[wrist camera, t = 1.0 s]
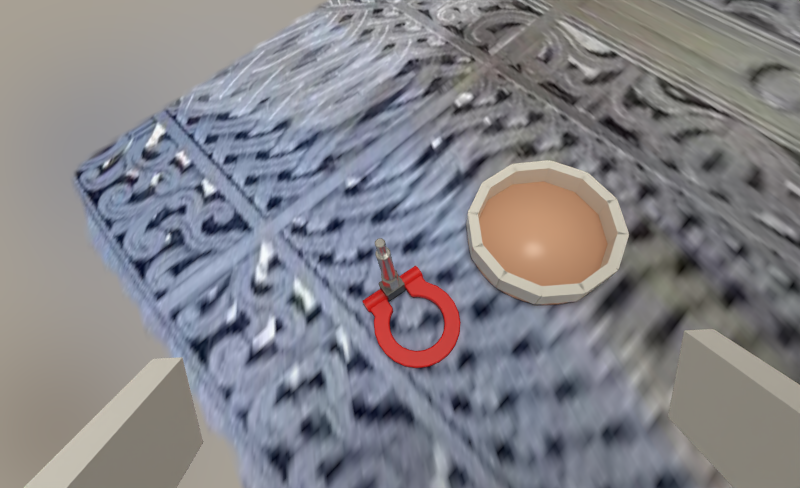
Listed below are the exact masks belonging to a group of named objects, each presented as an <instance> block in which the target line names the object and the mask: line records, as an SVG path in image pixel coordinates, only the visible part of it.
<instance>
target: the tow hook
mask: <svg viewBox="0 0 800 488" xmlns="http://www.w3.org/2000/svg"><path fill="white" fill-rule="evenodd" d="M375 246H376V249H377V250H376V258H377V261H378V264H379V267H380V270H381V276H382V281H381V282H379V286H380V290H378V291H377V292H375V293H374V294H372V295H371V296H369V297H368V298H366V299H365V300H363V304H364V306H365V307H366V309H367V310H368V311H369V312H372V313H373V315H374V316H375V319H374V328H375V335H376V338H377V340H378V343H379V345H380V347H381V348H382V349H383V351H384V352H385V354H386V355H387V356H389V357H390V358H391V359H392V360H393V361H395V362H397V363H399V364H401V365H403V366H406V367H413V368H422V367H429V366H431V365H434V364H436V363H438V362H440V361H441V360H443V359H444V358H445V357H446V356H448V355H449V353H450V352H451V350H452V349H453V348H454V346H455V344H456V342H457V339H458V336H459V332H460V318H459V312H458V310H457V308H456V305H455V303H454V301H453V300H452V299H451V298H450V296H449V295H448V294H447V293H446V292H445V291H443V290H442V289H441V288H439V287H438V286H435V285H433V284H430V283H428V282H426V281H425V280H424V279H423V275H422V273H421V271H420V270H419V269H418V267H416V266H414V267H413V268H411V269H410V270H408V271H407V272H405V273H404V274H402V275H401V276H399V275H398V274H397V271H396V270H394V266H393V262H392V257H391V253H390V250H389V249H388V248H387V247H386V244H385V241H384V240H383V239H381V238H379V239H377V240H376V241H375ZM405 289H406V290H407V291H408V293H409V294H410V295H411V296H412V297H421V298H426V299H428V300H430V301H432V302H433V303H435V304H436V305H437V306H438V308H439V309H440V310H441V312H442V314H443V317H444V323H445V325H444V332H443V334H442V337H441V338H440V339H439V341H438V342H437V343H436V344H435V345H434V346H432V347H431V348H428V349H426V350H422V351H412V350H408V349H406V348H403V347H402V346H401V345H399V344H398V343H397V342H396V341H395V339H394V338H393V336H392V334H391V331H390V318H391V315H392V313H393V308H392V306H391V305H390V304H389V302H388V301H390V300H391V299H393V298H394V297H396V296H397V295H399V294H400V293H402V292H403V291H405Z"/></svg>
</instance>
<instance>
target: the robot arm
mask: <svg viewBox="0 0 800 488" xmlns="http://www.w3.org/2000/svg"><path fill="white" fill-rule="evenodd" d="M668 418H669V419H670V420H671V421H672V422H673V423H674V424H675V425H676V426H677V427H678V428H679V430H680V431H681V432H682V433H683V434H684V435H685V436H686V437H687V438H688V439H689V440H690V441H691V442H692V443H693V445H694V446H695V447H696V448H697V449H698V450H699V451H700V452H701V453H702V454H703V455H704V456H705V457H706V458H707V460H708V461H709V462H710V463H711V464H712V465H713V466H714V467H715V468H716V469H717V470H718V471H719V472H720V473H721V475H722V476H723V477H724V478H725V479H726V480H727V481H728V482H729V483H730V484H731V485H732V486H733V487H734V488H800V385H799V384H798V383H796V382H795V381H793V380H791V379H790V378H788V377H787V376H785V375H784V374H782V373H781V372H779V371H777V370H776V369H774V368H773V367H771V366H770V365H768V364H767V363H765V362H764V361H762V360H760V359H759V358H757V357H756V356H754V355H753V354H751V353H750V352H748V351H747V350H745V349H743V348H742V347H740V346H739V345H737V344H736V343H734V342H733V341H731V340H730V339H728V338H726V337H725V336H723V335H722V334H720V333H719V332H717V331H716V330H714V329H705V330H686V331H684V335H683V340H682V345H681V351H680V356H679V361H678V367H677V372H676V378H675V383H674V388H673V394H672V399H671V404H670V410H669V415H668ZM202 444H203V440H202V436H201V432H200V428H199V424H198V420H197V415H196V411H195V407H194V403H193V399H192V395H191V391H190V387H189V383H188V379H187V375H186V371H185V367H184V363H183V359H182V358H164V359H152V360H151V361H150V362H149V363H148V364H147V365H146V366H145V367H144V369H143V370H141V371H140V372H139V373H138V374H137V375H136V376H135V377H134V378H133V379H132V380H131V381H130V382H129V383H128V384H127V385H126V386H125V387H124V388H123V389H122V390H121V391H120V392H119V393H118V394H117V395H116V396H115V397H114V398H113V399H112V400H111V401H110V402H109V403H108V404H107V405H106V406H105V407H104V408H103V409H102V410H101V411H100V412H99V413H98V414H97V415H96V416H95V417H94V418H93V419H92V420H91V421H90V422H89V423H88V424H87V425H86V426H85V427H84V428H83V429H82V430H81V431H80V432H79V433H78V434H77V435H76V436H75V437H74V438H73V439H72V440H71V441H70V442H69V443H68V444H67V445H66V446H65V447H64V448H63V449H62V450H61V451H60V452H59V453H58V454H57V455H56V456H55V457H54V458H53V459H52V460H51V461H50V462H49V463H48V464H47V465H46V466H45V467H44V468H43V469H42V470H41V471H40V472H39V473H38V474H37V475H36V476H35V477H34V478H33V479H32V480H31V481H30V482H29V483H28V484H27V485H26V486H25V487H24V488H177V486H178V485H179V482H180V481H181V479H182V478H183V476H184V474H185V473H186V471H187V469H188V468H189V466H190V464H191V462H192V461H193V459H194V457H195V456H196V454H197V452H198V451H199V449H200V447H201V445H202Z"/></svg>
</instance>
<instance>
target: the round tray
mask: <svg viewBox="0 0 800 488" xmlns="http://www.w3.org/2000/svg"><path fill="white" fill-rule="evenodd" d="M466 226H467V233H468V245H469V249H470V254H471V257H472V260H473V261H474V262H475V264H476V266H477V268H478V269H479V270H480V272H481V273H482V275H483V276H484V277H485V278H486V279H487V280H488V281H489V282H490V283H491V284H492V285H494V286H495V287H496V288H497V289H499V290H500V291H502V292H503V293H505V294H507V295H509V296H511V297H513V298H515V299H518V300H521V301H524V302H528V303H532V304H536V305H537V304H540V305H556V304H563V303H567V302H576V301H578V300H580V299H581V298H582V297H584V296H585V295H587V294H588V293H590V292H591V291H592V290H593V289H595V288H596V287H598V286H599V285H600V284H602V283H603V282H604V281H606V280H607V279H608V278H610V277H611V276H612V275H613V274H614V273H615V272H616V271H617V270H618V269H619V266H620V263H621V259H622V256H623V253H624V250H625V246H626V243H627V240H628V236H629V235H628V234H629V233H628V230H627V227H626V224H625V221H624V218H623V215H622V212H621V209H620V206H619V204H618V201H617V200H616V198H615V197H614V196H613V195H612V194H611V193H610V192H609V191H608V190H606V189H605V188H604V187H603V186H602V185H601V184H600V183H599V182H598V181H596V180H595V179H594V178H593V177H592V176H591V175H590V174H589V173H587V172H584V171H581V170H578V169H575V168H572V167H569V166H566V165H563V164H560V163H557V162H553V161H549V160H548V161H538V162H527V163H517V164H513V165H512V164H511V165H510V166H508V167H506V168H505V169H503V170H502V171H500V172H498V173H497V174H495V175H494V176H492V177H490V178H489V179H487V180H486V181H484V182H483V183H482V184H481V187H480V189H479V191H478V193H477V195H476V197H475V199H474V201H473V203H472V205H471V207H470V209H469V211H468V215H467V222H466Z"/></svg>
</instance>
